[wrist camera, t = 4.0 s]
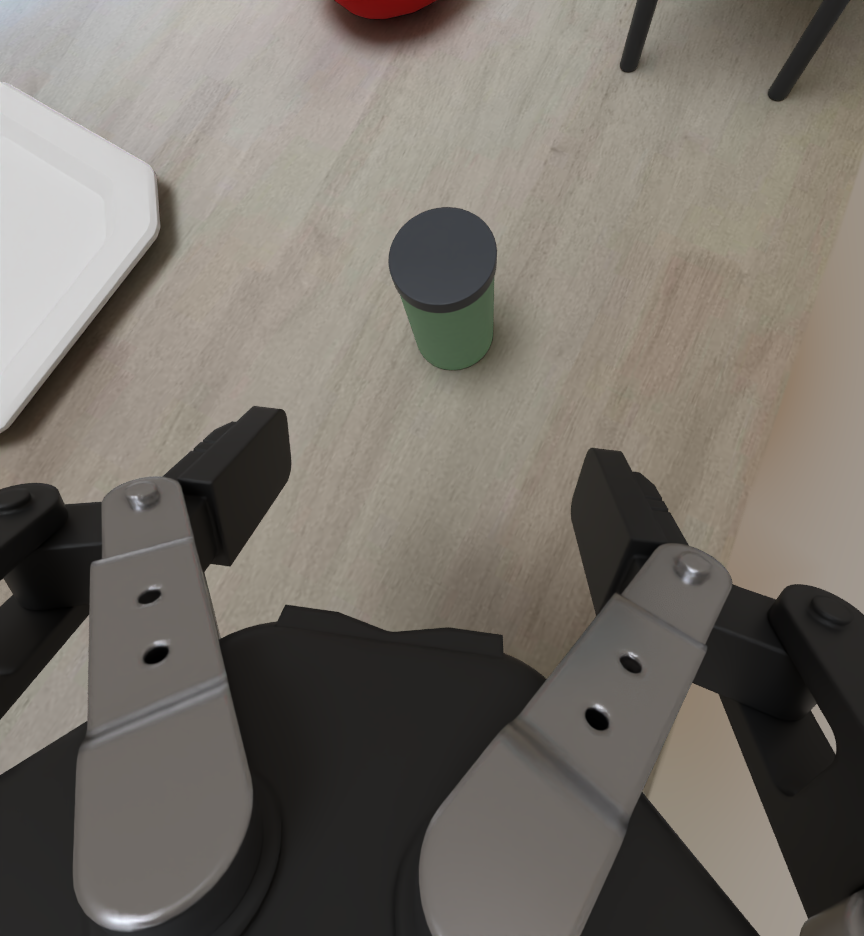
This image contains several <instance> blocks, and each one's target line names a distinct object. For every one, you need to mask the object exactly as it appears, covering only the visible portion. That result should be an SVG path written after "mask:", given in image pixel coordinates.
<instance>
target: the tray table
mask: <svg viewBox="0 0 864 936" xmlns="http://www.w3.org/2000/svg"><path fill="white" fill-rule="evenodd" d="M657 1H658V0H637V3H636V7H635V10H634V14H633V18H632V21H631V25H630V29H629V32H628V36H627V40H626V44H625V47H624V51H623V55H622V58H621V62H620V68H621V69H622V70H623V71H625V72H631V71H633V70H635V69H636V68H637V66H638V63H639V60H640V57H641V53H642V50H643V47H644V44H645V40H646V37H647V34H648V31H649V27H650V24H651V21H652V18H653V14H654V11H655V8H656V5H657ZM849 1H850V0H823V2H822V3H821V5H820V7H819V8H818V10H817V12H816V13H815V15H814V17H813V18H812V20H811V22H810V23H809V25H808V26H807V28H806V30H805V31H804V33H803V35H802V36H801V38H800V40H799V41H798V43H797V45H796V46H795V48H794V49H793V51H792V53H791V54H790V56H789V58H788V59H787V61H786V63H785V64H784V66H783V68H782V69H781V71H780V72H779V74H778V76H777V77H776V79H775V81H774V82H773V84H772V86H771V87H770V89H769V91H768V95H769V97H770V98H771V99H773V100H782V99H784V98H786V97H787V95H788V94H789V92H790V91H791V89H792V88H793V86H794V85H795V83H796V82H797V80H798V79H799V77H800V76H801V74H802V73H803V71H804V70H805V68H806V66H807V65H808V63H809V62H810V60H811V59H812V57H813V56H814V54H815V53H816V51H817V50H818V48H819V47H820V45H821V44H822V42H823V41H824V39H825V38H826V36H827V35H828V33H829V31H830V30H831V28H832V27H833V25H834V24H835V22H836V21H837V19H838V18H839V16H840V15H841V13H842V12H843V10H844V9H845V7H846V6H847V4H848V3H849Z"/></svg>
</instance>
